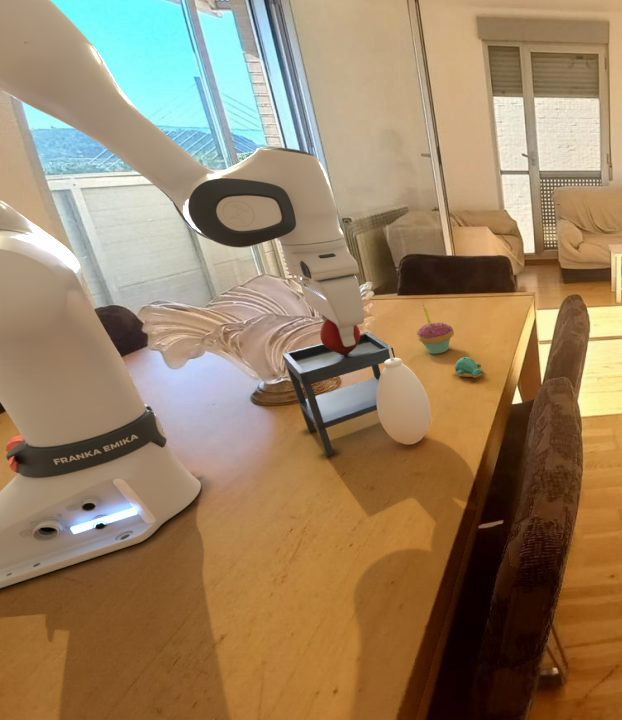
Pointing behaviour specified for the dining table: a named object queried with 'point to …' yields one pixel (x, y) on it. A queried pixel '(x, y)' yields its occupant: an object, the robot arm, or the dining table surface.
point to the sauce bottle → (402, 402)
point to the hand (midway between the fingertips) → (342, 339)
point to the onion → (336, 338)
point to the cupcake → (435, 335)
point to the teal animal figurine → (468, 368)
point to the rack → (329, 364)
